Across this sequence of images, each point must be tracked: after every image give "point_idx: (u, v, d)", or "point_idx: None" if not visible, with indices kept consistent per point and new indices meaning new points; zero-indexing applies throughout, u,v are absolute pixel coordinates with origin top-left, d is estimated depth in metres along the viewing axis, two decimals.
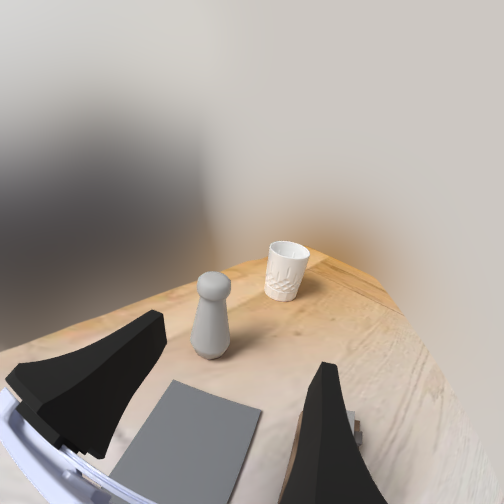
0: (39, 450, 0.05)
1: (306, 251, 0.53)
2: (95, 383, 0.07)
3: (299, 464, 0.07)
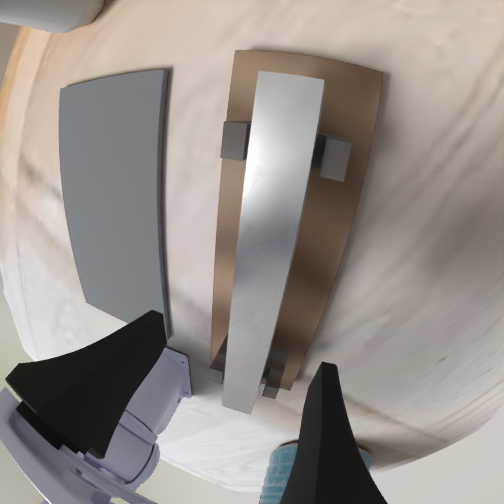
0: (38, 450, 0.05)
1: None
2: (95, 383, 0.07)
3: (299, 464, 0.07)
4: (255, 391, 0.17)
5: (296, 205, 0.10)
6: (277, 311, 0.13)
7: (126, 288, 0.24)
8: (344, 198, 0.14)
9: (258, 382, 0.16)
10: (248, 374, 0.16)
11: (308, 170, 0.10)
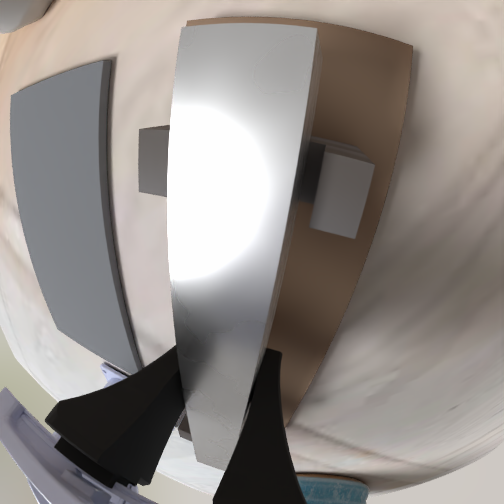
0: (38, 450, 0.05)
1: None
2: (151, 414, 0.07)
3: None
4: None
5: (262, 285, 0.06)
6: (244, 407, 0.08)
7: (90, 323, 0.19)
8: (351, 239, 0.09)
9: None
10: (219, 448, 0.11)
11: (284, 223, 0.05)
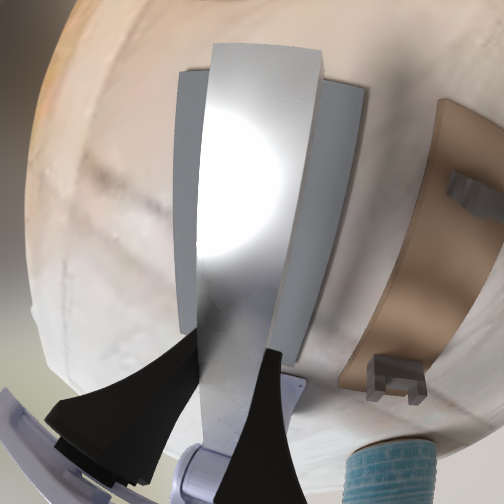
0: (38, 450, 0.05)
1: None
2: (150, 414, 0.07)
3: None
4: (237, 441, 0.13)
5: (277, 255, 0.07)
6: (255, 378, 0.09)
7: None
8: (497, 240, 0.13)
9: (240, 434, 0.13)
10: (227, 427, 0.13)
11: (295, 202, 0.06)
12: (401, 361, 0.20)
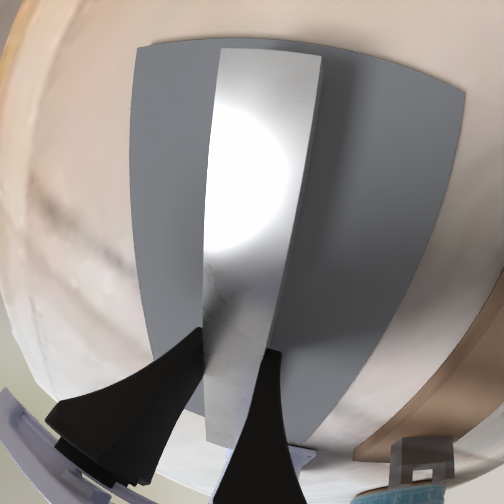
0: (39, 450, 0.05)
1: None
2: (151, 414, 0.07)
3: None
4: None
5: (280, 245, 0.07)
6: (258, 368, 0.10)
7: None
8: None
9: (242, 427, 0.13)
10: (230, 420, 0.13)
11: (297, 196, 0.06)
12: (431, 441, 0.12)
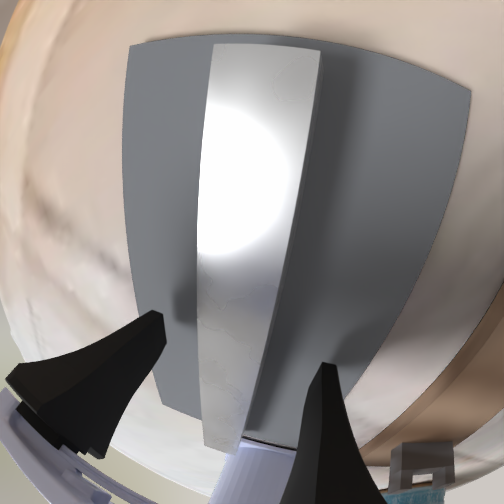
0: (39, 450, 0.05)
1: None
2: (95, 383, 0.07)
3: (299, 464, 0.07)
4: (238, 439, 0.13)
5: (276, 252, 0.07)
6: (255, 376, 0.09)
7: (259, 410, 0.15)
8: None
9: (240, 433, 0.13)
10: (228, 426, 0.13)
11: (294, 200, 0.06)
12: (431, 446, 0.12)
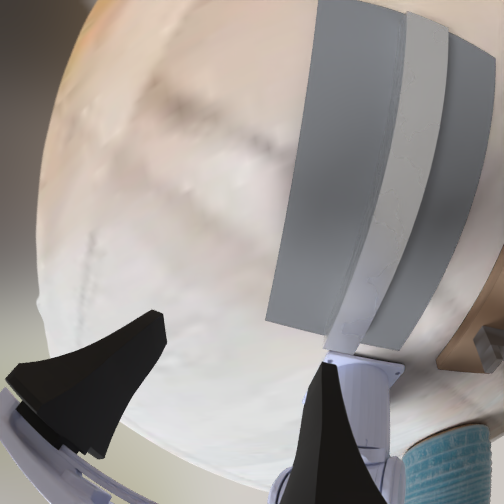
0: (38, 450, 0.05)
1: None
2: (95, 383, 0.07)
3: (299, 464, 0.07)
4: (372, 316, 0.16)
5: (439, 105, 0.09)
6: (419, 203, 0.12)
7: None
8: None
9: (380, 301, 0.15)
10: (372, 292, 0.15)
11: (445, 82, 0.08)
12: (502, 332, 0.14)
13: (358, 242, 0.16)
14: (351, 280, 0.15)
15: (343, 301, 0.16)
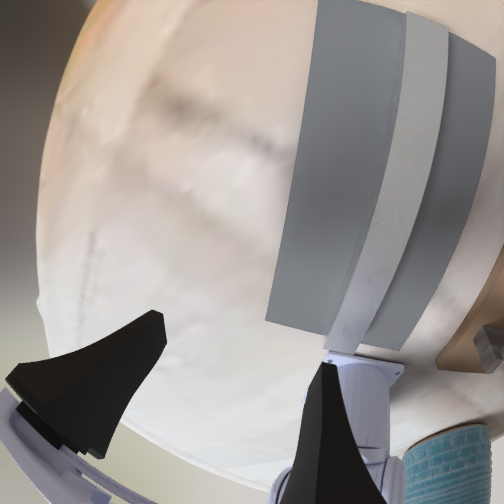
0: (38, 450, 0.05)
1: None
2: (95, 383, 0.07)
3: (299, 464, 0.07)
4: (372, 316, 0.16)
5: (439, 105, 0.09)
6: (419, 203, 0.12)
7: None
8: None
9: (380, 301, 0.15)
10: (372, 292, 0.15)
11: (445, 82, 0.08)
12: (502, 332, 0.14)
13: (358, 242, 0.16)
14: (351, 280, 0.15)
15: (343, 301, 0.16)
